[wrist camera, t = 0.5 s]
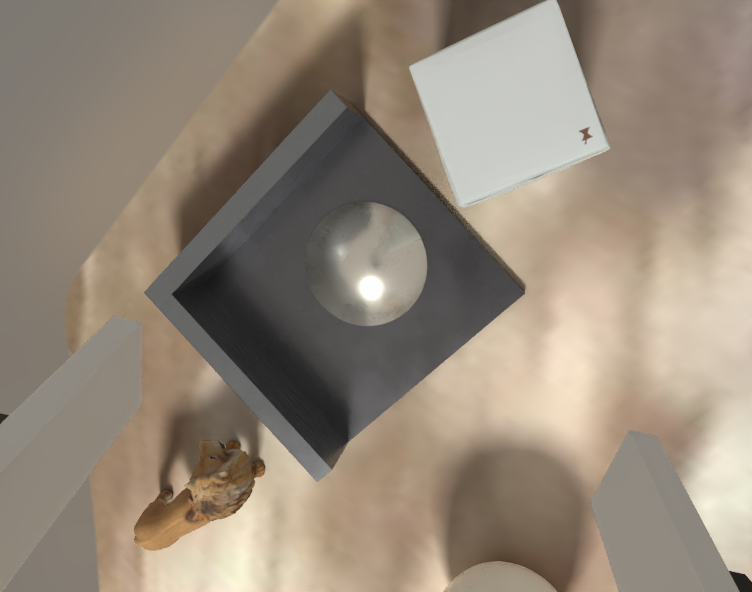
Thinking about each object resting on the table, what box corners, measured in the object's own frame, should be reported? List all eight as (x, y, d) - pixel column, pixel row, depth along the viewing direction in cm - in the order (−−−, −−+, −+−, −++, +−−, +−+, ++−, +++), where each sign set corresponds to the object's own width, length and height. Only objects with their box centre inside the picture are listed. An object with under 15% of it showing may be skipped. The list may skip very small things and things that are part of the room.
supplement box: (539, 56, 37) (562, -12, 25) (576, 165, 37) (616, 151, 25) (432, 103, 39) (404, 61, 26) (469, 206, 39) (459, 212, 27)
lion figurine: (250, 397, 45) (192, 446, 37) (297, 445, 45) (250, 505, 36) (145, 506, 49) (70, 573, 40) (188, 550, 49) (123, 627, 40)
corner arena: (350, 102, 40) (330, 89, 35) (524, 292, 39) (529, 305, 35) (181, 281, 45) (143, 292, 40) (336, 450, 44) (317, 482, 40)
